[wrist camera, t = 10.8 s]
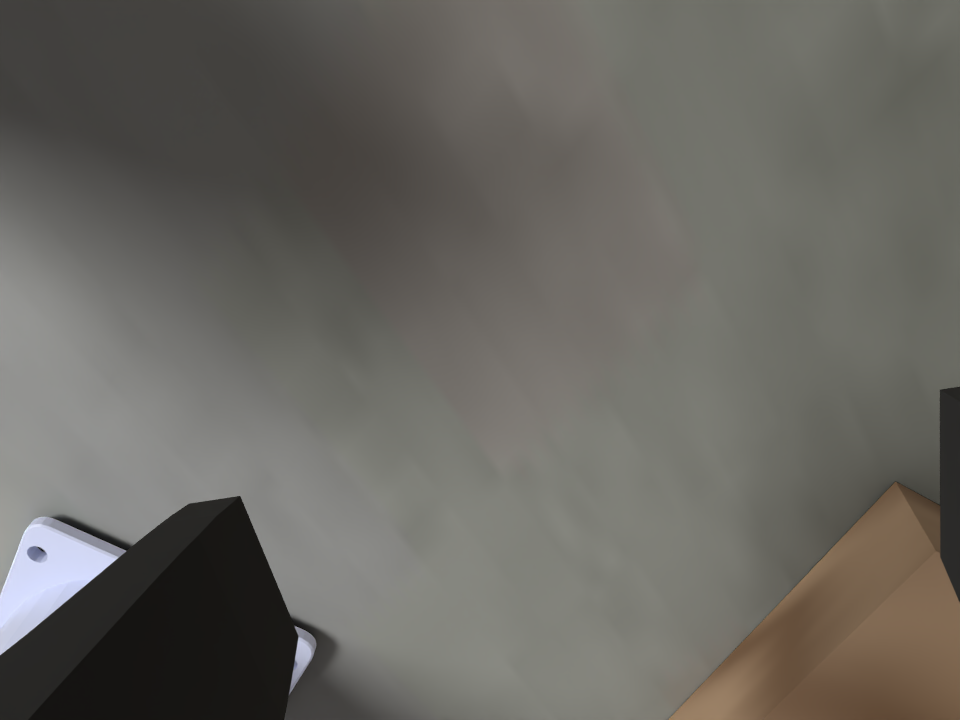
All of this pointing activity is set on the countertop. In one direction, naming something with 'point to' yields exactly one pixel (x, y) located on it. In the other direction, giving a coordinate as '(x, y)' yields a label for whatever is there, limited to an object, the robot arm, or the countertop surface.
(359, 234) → the countertop surface
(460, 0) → the countertop surface
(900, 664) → the walnut base
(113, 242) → the countertop surface
